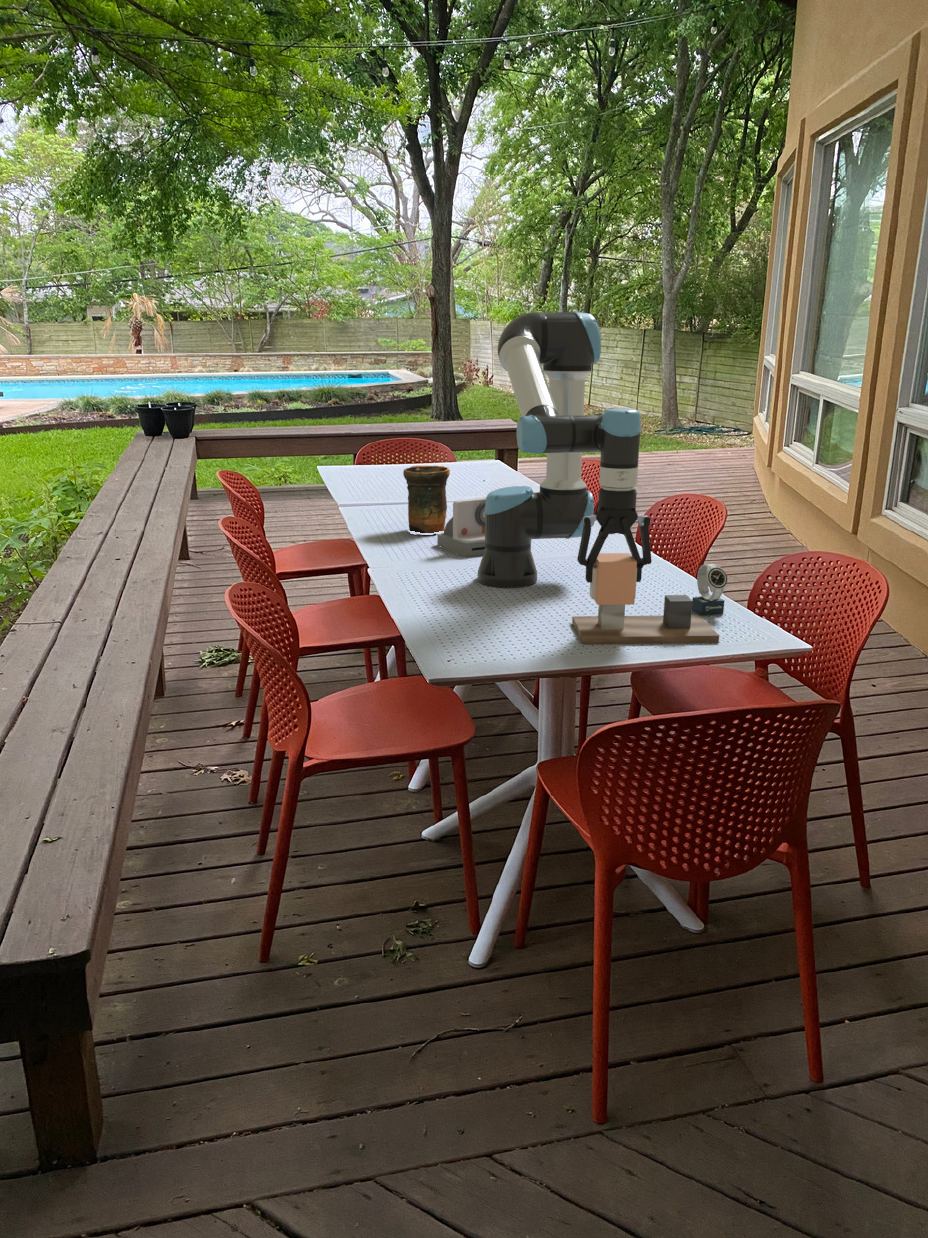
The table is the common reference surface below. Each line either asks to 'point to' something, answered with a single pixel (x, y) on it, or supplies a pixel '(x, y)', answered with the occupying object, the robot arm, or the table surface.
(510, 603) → the table surface
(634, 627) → the post board
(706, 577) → the watch
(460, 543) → the instant camera
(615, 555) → the peach cube
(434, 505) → the vessel
